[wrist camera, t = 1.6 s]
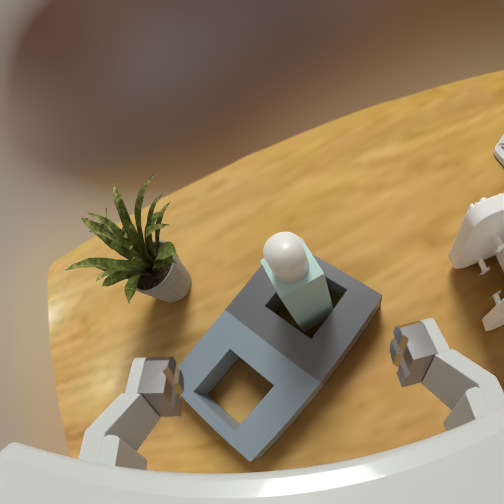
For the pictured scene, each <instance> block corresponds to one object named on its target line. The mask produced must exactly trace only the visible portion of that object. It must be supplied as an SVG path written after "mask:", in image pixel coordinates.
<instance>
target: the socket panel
mask: <svg viewBox="0 0 504 504" xmlns="http://www.w3.org/2000/svg"><path fill="white" fill-rule="evenodd" d="M312 255H313V254H312ZM313 257H314V258H315V260H316V261H317V263H318V264H319V266H320V268H321V269H322V271H323V272H324V275H325V278H326V282H327V286H328V289H330V290H332V291H333V292H335V293H336V294H338V295H340V296H341V297H342V298H341V299H340V301H339V302H338V304H337V305H336V306H335V308H334V309H333V311H332V312H331V313H330V315H329V316H328V317H327V319H326V320H325V322H324V323H323V324H322V326H321V327H320V328H319V330H318V331H317V332H316V334H315V335H314V336H313V337H312V339H310V338H309V337H308V336H306V335H305V334H303V333H302V332H301V331H299V330H298V329H296V328H295V327H293V326H292V325H291V324H289V323H288V322H286V321H285V320H284V319H282V318H281V317H279V316H278V315H277V314H275V313H276V311H277V310H278V309H279V308H280V306H281V305H282V304H283V302H282V300H281V299H280V297H279V295H278V293H277V291H276V290H275V288H274V286H273V284H272V282H271V280H270V278H269V276H268V275H267V273H266V271H265V269H264V267H263V265H262V266H261V267H260V268H259V269H258V270H257V272H256V273H255V274H254V275H253V277H252V278H251V279H250V280H249V281H248V283H247V284H246V285H245V286H244V288H243V289H242V290H241V291H240V292H239V294H238V295H237V296H236V297H235V299H234V300H233V301H232V302H231V303H230V305H229V306H228V307H227V308H226V309H225V311H224V312H223V313H222V314H221V316H220V317H219V318H218V319H217V320H216V322H215V323H214V324H213V325H212V326H211V328H210V329H209V330H208V331H207V332H206V334H205V335H204V336H203V337H202V338H201V340H200V341H199V342H198V343H197V344H196V346H195V347H194V348H193V349H192V350H191V352H190V353H189V354H188V355H187V356H186V358H185V359H184V360H183V361H182V362H181V363H180V365H179V366H178V368H179V369H180V370H181V371H182V374H183V377H184V392H183V393H182V394H181V396H182V397H183V398H184V400H185V401H186V402H187V403H188V404H189V405H190V406H191V407H192V408H193V409H194V410H195V411H196V412H197V413H198V414H199V415H200V416H201V417H202V418H203V419H204V420H205V421H206V422H207V423H208V424H209V425H210V426H211V427H212V428H213V429H214V430H215V431H216V432H217V433H218V434H220V435H221V436H222V437H223V438H224V439H225V440H226V441H227V442H228V443H229V444H230V445H231V446H232V447H234V448H235V449H236V450H237V451H238V452H239V453H240V454H241V455H243V456H244V457H245V458H246V459H247V460H248V461H249V462H252V461H254V460H256V459H259V458H261V457H262V456H263V455H264V454H265V453H266V452H267V450H268V449H269V448H270V447H271V446H272V445H273V444H274V443H275V442H276V441H277V440H278V439H279V438H280V436H281V435H282V434H283V433H284V432H285V431H286V430H287V429H288V428H289V426H290V425H291V424H292V423H293V422H294V421H295V420H296V418H297V417H298V416H299V415H300V414H301V413H302V411H303V410H304V409H305V408H306V407H307V405H308V404H309V403H310V402H311V401H312V399H313V398H314V397H315V396H316V395H317V393H318V392H319V391H320V390H321V388H322V387H323V386H324V384H325V383H326V382H327V381H328V379H329V378H330V377H331V375H332V374H333V373H334V372H335V370H336V369H337V368H338V366H339V365H340V364H341V362H342V361H343V360H344V358H345V357H346V355H347V354H348V353H349V351H350V350H351V349H352V347H353V346H354V344H355V343H356V342H357V340H358V339H359V337H360V336H361V334H362V333H363V332H364V330H365V329H366V327H367V326H368V324H369V323H370V321H371V320H372V318H373V317H374V315H375V314H376V312H377V311H378V309H379V308H380V305H381V300H382V295H381V294H379V293H378V292H376V291H374V290H373V289H371V288H369V287H368V286H366V285H364V284H363V283H361V282H359V281H358V280H356V279H354V278H353V277H351V276H349V275H347V274H346V273H344V272H342V271H341V270H339V269H337V268H336V267H334V266H332V265H330V264H329V263H327V262H325V261H324V260H322V259H320V258H318V257H317V256H315V255H313ZM239 357H240V358H242V359H243V360H244V361H245V362H246V363H248V364H249V365H250V366H251V367H252V368H254V369H255V370H256V371H257V372H258V373H260V374H261V375H262V376H263V377H265V378H266V379H267V380H268V381H269V382H271V383H272V384H273V385H274V386H273V387H272V389H271V390H270V391H269V392H268V393H267V394H266V396H265V397H264V398H263V399H262V400H261V401H260V403H259V404H258V405H257V406H256V407H255V408H254V409H253V411H252V412H251V413H250V414H249V415H248V416H247V417H246V418H245V420H244V421H243V422H242V423H241V424H239V423H238V422H237V421H236V420H235V419H234V418H232V417H231V416H230V415H229V414H228V413H227V412H226V411H225V410H224V409H223V408H222V407H221V406H219V405H218V404H217V403H216V402H215V401H214V400H213V399H212V398H211V397H210V396H209V395H208V393H209V392H210V391H211V390H212V389H213V388H214V386H215V385H216V384H217V383H218V382H219V381H220V379H221V378H222V377H223V376H224V375H225V374H226V372H227V371H228V370H229V369H230V368H231V367H232V365H233V364H234V363H235V362H236V361H237V359H238V358H239Z"/></svg>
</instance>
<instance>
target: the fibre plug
mask: <svg viewBox="0 0 504 504" xmlns="http://www.w3.org/2000/svg"><path fill="white" fill-rule="evenodd" d="M263 255H264V259H262V260H260V261H261V263H262V265H263V267H264V269H265V271H266V273H267V275H268V276H269V278H270V280H271V282H272V284H273V286H274V288H275V290H276V291H277V293H278V295H279V297H280V299H281V300H282V302H283V303H284V305H285V306H286V308H287V309H288V311H289V312H290V314H291V315H292V317H293V318H294V320H295V321H296V323H297V324H298V326H299V327H300V329H301V330H302V332H305V331H306V330H308V329H310V328H312V327H314V326H315V325H317V324H319V323H321V322H322V321H324V320H326V319H327V317H328V316H329V315H330V313H331V312H332V311H333V306H332V302H331V298H330V294H329V290H328V286H327V282H326V278H325V275H324V272H323V271H322V269H321V268H320V266H319V264H318V263H317V261H316V260H315V258H314V257H313V255H312V254H311V252H310V251H309V249H308V248H307V246H306V244H305V243H304V241H303V240H302V238H299V237H298V236H297V235H296V234H294V233H291V232H280V233H277V234H275V235H273V236H272V237H270V238H269V239H268V240H267V242H266V243H265V245H264V249H263Z"/></svg>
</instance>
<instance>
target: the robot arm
mask: <svg viewBox="0 0 504 504" xmlns="http://www.w3.org/2000/svg"><path fill="white" fill-rule="evenodd" d="M493 153H494V155H495V157H496V158H497V159H498V160H499V162H500V163H501V164H502V165H503V166H504V134H503V136H502V137H501V139H500V140H499V142H498V144H497V145H496V147H495V149H494V151H493ZM393 333H394V336H395V337H394V338H393V339H392V340H391V344H390V354H391V358H392V361H393V364H395V365H396V366H397V367H399V368H398V371H397V375H398V378H399V380H400V383H401V386H402V387H405V386H409V385H412V384H416V383H420V382H422V384H423V385H424V386H425V387H426V388H427V389H429V390H430V391H431V392H432V393H433V394H434V395H435V396H436V397H438V398H439V399H440V400H441V401H442V402H443V403H444V404H445V405H447V406H448V407H449V408H450V409H451V410H452V411H451V412H450V414H449V415H448V416H447V417H446V419H445V420H444V425H445V428H446V432H443V433H440V434H438V435H435V436H432V437H429V438H426V439H423V440H420V441H417V442H414V443H411V444H408V445H405V446H401V447H398V448H395V449H391V450H387V451H384V452H380V453H376V454H372V455H368V456H364V457H359V458H355V459H350V460H345V461H340V462H335V463H329V464H323V465H317V466H310V467H303V468H296V469H287V470H277V471H266V472H251V473H220V474H208V473H177V472H163V471H151V470H146V469H147V460H146V458H144V457H143V456H142V455H140V454H139V453H138V452H137V450H138V449H139V447H140V446H141V444H142V443H143V442H144V440H145V439H146V438H147V436H148V435H149V433H150V432H151V431H152V429H153V428H154V426H155V425H156V424H157V422H158V421H159V419H160V417H174V416H181V410H182V400H181V399H180V397H179V396H180V395H181V394H182V393H183V392H184V377H183V374H182V371H181V370H180V369H179V368H178V367H176V361H175V359H174V358H173V357H149V358H148V357H146V358H135V359H134V360H133V362H132V366H131V370H130V373H129V377H128V381H127V385H126V389H125V393H121V394H120V395H119V396H118V397H117V398H116V399H115V400H114V401H113V402H112V404H111V405H110V406H109V407H108V408H107V409H106V410H105V411H104V412H103V413H102V414H101V415H100V416H99V417H98V418H97V419H96V420H95V421H94V422H93V423H92V424H91V425H90V426H89V427H88V428H87V429H86V431H85V434H84V438H83V442H82V446H81V450H80V455H79V459H76V458H72V457H67V456H63V455H59V454H55V453H51V452H48V451H44V450H41V449H37V448H34V447H31V446H28V445H25V444H22V443H18V442H12V443H11V444H9V445H8V446H6V447H5V448H4V449H3V450H1V451H0V504H504V392H503V390H502V388H501V386H500V384H499V382H498V380H497V378H496V376H494V375H493V374H491V373H489V372H488V371H486V370H485V369H483V368H482V367H480V366H479V365H477V364H476V363H474V362H473V361H471V360H470V359H468V358H467V357H465V356H463V355H462V354H460V353H459V352H457V351H456V350H454V349H451V350H450V349H449V347H448V345H447V343H446V341H445V339H444V337H443V335H442V333H441V331H440V330H439V328H438V326H437V324H436V322H435V320H434V319H433V318H428V319H425V320H421V321H415V322H411V323H407V324H403V325H399V326H396V327H395V329H394V332H393Z"/></svg>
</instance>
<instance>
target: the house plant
mask: <svg viewBox="0 0 504 504" xmlns="http://www.w3.org/2000/svg"><path fill="white" fill-rule="evenodd" d="M152 177H153V175H152V176H151V177H150V178H149V179H148V180H147V181H146V182H145V184H144V185H143V186H142V188H141V189H140V191H139V194H138V196H137V199H136V204H135V220H136V226H137V231H136V229H135V227H134V225H133V224H132V222H131V220H130V217H129V215H128V212H127V210H126V207H125V204H124V202H123V200H122V198H121V195H120V193H118V191H117V187H116V185H115V183H113V196H114V201H115V204H116V207H117V210H118V213H119V216H120V219H121V222H122V225H123V228H122V230H121V229H120V228H119V227H118V226H117V225H115V224H114V223H113V222H112V221H110V220H109V219H107V209H106V218H104V217H102V216H100V215H97V214H93V213H89V214H90V215H91V216H93V217H94V218H95V219H97V220H99V221H100V222H102V223H103V224H101V223H97V222H93V221H92V220H90V219H88V218H82V220H83V221H84V223H85V224H86V225H87V227H89V228H90V229H91V231H90V232H93V233H95V234H96V235H97V236H98V237H99V238H101V239H102V240H103V241H104V242H105V243H106V244H107V245H108V246H109V247H110V248H112V249H114V250H115V251H116V252H118V253H119V254H120V255H122V256H123V257H125V258H127V259H129V260H115V259H109V258H88V259H85V260H83V261H81V262H78V263H75V264H73V265H71V266H70V267H69V268H68V269H67V270H70V269H75V268H81V267H96V268H98V269H101V270H103V271H105V272H103V273H101V274H100V275H99V276H98V278H97V280H96V281H98V280H100V279H101V278H103V277H104V276H107V275H109V276H108V277H107V278H106V279H105V281H104V283H103V285H102V286H110V285H113V284H115V283H117V282H119V281H122V280H124V279H128V282H127V283H126V286H125V294H126V297H127V299H128V302H129V301H130V299H131V298H132V297H133V295H134V293H135V291H136V290H137V291H138V292H141V293H144V294H146V295H149V296H152V297H155V298H157V299H160V300H163V301H166V302H169V303H173V302H177V301H179V300H181V299H182V298H184V297H185V296H186V295H187V294H188V292H189V290H190V287H191V276H190V274H189V273H188V271H187V270H186V268H185V267H184V265H183V264H182V262H181V261H180V259H179V258H178V255H177V254H176V251H175V247H174V245H173V244H172V243H171V242H164V241H161V240H159V234H160V229H161V228H164V227H166V226H168V224H161V221H162V218H163V214H164V211H165V210H166V208H167V207H168V205H169V203H170V202H171V201H170V202H169V203H168V204H167V205H166V206H164V208H163V209H162V210H161V211H160V212H157V213H154V214H153V211H154V208H155V205H156V203H157V201H158V200H159V199H160V197H161V195H160V196H159V197H158V198H157V199H156V200H155V201H154V202H153V203H152V205H151V207H150V209H149V212H148V217H147V224H146V227H145V243H144V238H143V233H142V228H141V206H142V202H143V198H144V193H145V190H146V187H147V186H148V184H149V183H150V181H151V180H152ZM156 220H157V221H156ZM155 221H156V224H154V223H155ZM154 230H155V241H152V234H151V232H153V231H154ZM137 232H138V233H137Z"/></svg>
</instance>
